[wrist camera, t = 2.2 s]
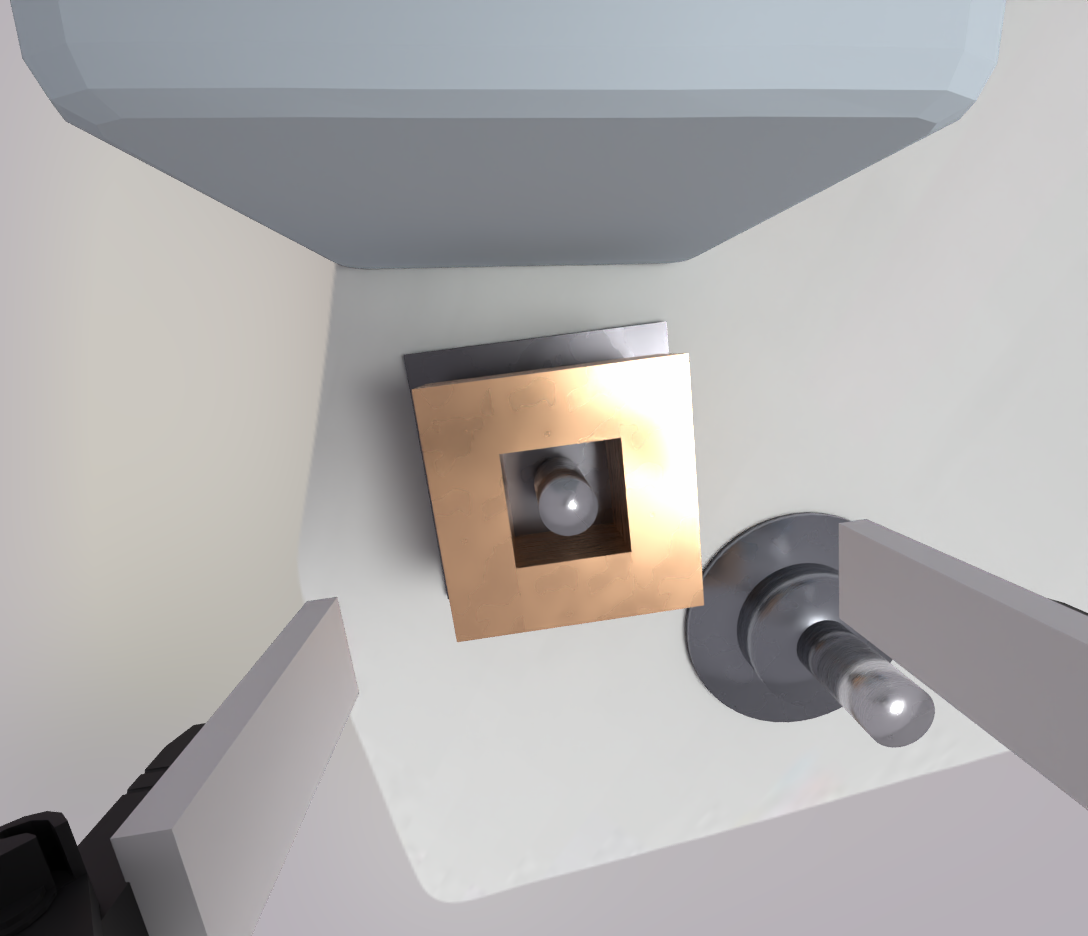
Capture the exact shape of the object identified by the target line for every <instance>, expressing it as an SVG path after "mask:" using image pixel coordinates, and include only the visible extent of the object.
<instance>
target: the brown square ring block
mask: <svg viewBox="0 0 1088 936" xmlns="http://www.w3.org/2000/svg"><path fill="white" fill-rule="evenodd" d="M412 395H413V401H414V406H415V412H416V417H417V423H418V429H419V434H420V440H421V445H422V451H423V456H424V462H425V467H426V473H427V478H428V484H429V489H430V495H431V501H432V506H433V512H434V517H435V523H436V528H437V534H438V539H439V545H440V550H441V556H442V561H443V567H444V572H445V578H446V584H447V589H448V595H449V600H450V606H451V611H452V617H453V622H454V628H455V633H456V639H457V642H461V641H468V640H475V639H482V638H488V637H495V636H502V635H508V634H515V633H522V632H529V631H535V630H542V629H549V628H555V627H562V626H569V625H575V624H582V623H589V622H596V621H602V620H609V619H616V618H622V617H629V616H636V615H643V614H649V613H656V612H663V611H669V610H676V609H683V608H690V607H696V606H703V605H704V597H703V580H702V564H701V548H700V532H699V515H698V499H697V483H696V467H695V451H694V434H693V418H692V402H691V386H690V369H689V353H681V354H653V355H645V356H637V357H630V358H622V359H614V360H607V361H599V362H591V363H583V364H576V365H568V366H560V367H553V368H545V369H537V370H530V371H522V372H514V373H506V374H499V375H491V376H483V377H476V378H468V379H460V380H453V381H445V382H437V383H429V384H425V385H423V386H420V387H417V388H414V389H412ZM600 440H605V445H606V455H607V465H608V475H609V485H610V494H611V504H612V514H613V523H606V524H599V525H592V526H590V527H589V528H588V529H587V530H585V531H584V532H582V533H580V534H577V535H573V536H563V535H559V534H556V533H554V532H552V531H549V532H542V533H535V534H528V535H521V536H515V534H514V527H513V520H512V513H511V506H510V499H509V493H508V486H507V479H506V472H505V465H504V458H503V454H504V453H512V452H519V451H526V450H534V449H541V448H549V447H556V446H563V445H571V444H578V443H585V442H593V441H600Z"/></svg>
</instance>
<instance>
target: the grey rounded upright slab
mask: <svg viewBox="0 0 1088 936" xmlns="http://www.w3.org/2000/svg"><path fill="white" fill-rule="evenodd" d="M10 2H11V7H12V12H13V16H14V20H15V25H16V30H17V35H18V40H19V44H20V49H21V53H22V58H23V60H24V61H25V63H26V64H27V66H28V67H29V69H30V70H31V72H32V74H33V75H34V77H35V78H36V80H37V81H38V83H39V84H40V86H41V87H42V89H43V90H44V92H45V94H46V95H47V97H48V98H49V100H50V101H51V102H52V104H53V105H54V106H55V108H56V109H57V110H58V112H59V113H60V114H61V116H62V117H63V118H64V120H65V121H66V122H68V123H70V124H72V125H74V126H76V127H78V128H80V129H82V130H84V131H86V132H87V133H89V134H91V135H93V136H95V137H97V138H99V139H101V140H103V141H105V142H106V143H108V144H110V145H112V146H114V147H116V148H118V149H120V150H122V151H124V152H125V153H127V154H129V155H131V156H133V157H135V158H137V159H139V160H141V161H143V162H145V163H146V164H149V165H150V166H152V167H154V168H156V169H158V170H160V171H162V172H164V173H166V174H167V175H169V176H171V177H173V178H175V179H177V180H179V181H181V182H183V183H185V184H186V185H188V186H190V187H192V188H194V189H196V190H198V191H200V192H202V193H203V194H205V195H207V196H209V197H211V198H213V199H215V200H217V201H218V202H221V203H223V204H224V205H226V206H228V207H230V208H232V209H234V210H236V211H238V212H239V213H241V214H243V215H245V216H247V217H249V218H251V219H253V220H255V221H257V222H258V223H260V224H262V225H264V226H266V227H268V228H270V229H272V230H274V231H276V232H278V233H280V234H281V235H283V236H285V237H287V238H289V239H291V240H293V241H295V242H297V243H299V244H300V245H302V246H304V247H306V248H308V249H310V250H312V251H314V252H316V253H318V254H319V255H321V256H323V257H325V258H327V259H329V260H331V261H333V262H335V263H338V264H340V265H343V266H346V267H351V268H368V269H369V268H432V267H479V266H534V265H596V264H647V263H673V262H682V261H686V260H689V259H691V258H694V257H696V256H698V255H700V254H702V253H704V252H706V251H707V250H709V249H711V248H713V247H715V246H717V245H719V244H721V243H723V242H725V241H727V240H729V239H730V238H732V237H734V236H736V235H738V234H740V233H742V232H744V231H746V230H748V229H750V228H752V227H754V226H756V225H758V224H759V223H761V222H763V221H765V220H767V219H769V218H771V217H773V216H775V215H777V214H779V213H781V212H783V211H784V210H786V209H788V208H790V207H792V206H794V205H796V204H798V203H800V202H802V201H804V200H806V199H808V198H809V197H811V196H813V195H815V194H817V193H819V192H821V191H823V190H825V189H827V188H829V187H830V186H832V185H834V184H836V183H838V182H840V181H842V180H844V179H846V178H848V177H850V176H851V175H853V174H855V173H857V172H859V171H861V170H863V169H865V168H867V167H869V166H871V165H873V164H875V163H876V162H878V161H880V160H882V159H884V158H886V157H888V156H890V155H892V154H894V153H896V152H898V151H900V150H902V149H903V148H905V147H907V146H909V145H911V144H913V143H915V142H917V141H919V140H921V139H923V138H925V137H927V136H929V135H931V134H932V133H934V132H936V131H938V130H940V129H942V128H944V127H946V126H948V125H950V124H952V123H954V122H956V121H958V120H959V119H960V118H961V117H962V116H963V115H964V114H965V113H966V111H967V110H968V109H969V108H970V107H971V106H972V105H973V104H974V102H975V101H976V100H977V98H978V96H979V95H980V93H981V91H982V89H983V88H984V86H985V84H986V82H987V81H988V79H989V77H990V75H991V73H992V72H993V70H994V68H995V66H996V65H997V62H998V55H999V48H1000V40H1001V33H1002V26H1003V19H1004V12H1005V5H1006V0H10Z"/></svg>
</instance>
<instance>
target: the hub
mask: <svg viewBox="0 0 1088 936" xmlns="http://www.w3.org/2000/svg"><path fill="white" fill-rule="evenodd" d="M843 522H850V520H847V519H844V518H841V517H838V516H834V515H828V514H823V513H798V514H790V515H786V516H781V517H777V518H774V519H771V520H768V521H765V522H763V523H761V524H759V525H756V526H754V527H752V528H750V529H749V530H747V531H745V532H744V533H742V534H741V535H739V536H737V537H736V538H735V539H734V540H732V541H731V542H730V543H729V544H727V545H726V546H725V547H724V548H723V549H722V550H721V551H720V552H719V553H718V554H717V555H716V556H715V557H714V559H713V560H712V561H711V562H710V564H709V565H708V566H707V568H706V569H705V571H704V572H703V574H702V580H703V597H704V605H703V606H696V607H690V608H688V614H687V621H686V638H687V645H688V650H689V654H690V657H691V660H692V663H693V665H694V667H695V669H696V671H697V673H698V675H699V677H700V678H701V680H702V681H703V683H704V684H705V686H706V687H707V688H708V689H709V690H710V692H711V693H712V694H713V695H714V696H715V697H716V698H717V699H719V700H720V701H721V702H722V703H723V704H725V705H726V706H728V707H729V708H731V709H733V710H735V711H736V712H739V713H741V714H743V715H746V716H748V717H752V718H755V719H759V720H764V721H771V722H794V721H802V720H807V719H812V718H816V717H819V716H822V715H825V714H828V713H830V712H832V711H834V710H837V709H839V708H841V707H844V708H845V710H846V711H847V712H848V713H849V714H850V715H851V716H852V717H853V718H854V719H855V720H856V721H857V722H858V723H859V724H860V725H861V726H862V727H863V729H864V730H865V731H866V732H867V733H868V734H869V735H870V736H871V737H872V738H873V739H874V740H875V741H876V742H878V743H879V744H881V745H883V746H887V747H902V746H906V745H909V744H911V743H913V742H915V741H917V740H918V739H919V738H921V737H922V736H923V735H924V734H925V733H926V732H927V730H928V729H929V728H930V726H931V724H932V722H933V719H934V714H935V707H934V703H933V700H932V699H931V697H930V696H929V695H928V694H927V693H926V692H925V691H924V690H923V689H921V688H920V687H919V686H918V685H916V684H915V683H914V682H913V681H912V680H910V679H909V678H908V677H907V676H905V675H904V674H903V673H902V672H900V671H899V670H898V669H897V668H895V667H894V666H893V665H892V664H891V663H890V662H891V661H892V659H891V658H890V657H889V656H888V655H886V654H885V653H884V652H882V651H881V650H880V649H878V648H877V647H876V646H875V645H873V644H872V643H871V642H869V641H868V640H867V639H866V638H864V637H863V636H862V635H860V634H859V633H858V632H856V631H855V630H854V629H853V628H851V627H850V626H849V625H847V624H846V623H845V622H844V621H842V620H841V619H840V618H839V523H843Z"/></svg>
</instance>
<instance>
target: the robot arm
mask: <svg viewBox="0 0 1088 936" xmlns="http://www.w3.org/2000/svg"><path fill="white" fill-rule="evenodd" d="M839 618H840V619H841V620H842V621H844V622H845V623H846V624H847V625H849V626H850V627H851V628H853V629H854V630H855V631H856V632H858V633H859V634H860V635H862V636H863V637H864V638H866V639H867V640H868V641H869V642H871V643H872V644H873V645H875V646H876V647H877V648H878V649H880V650H881V651H882V652H884V653H885V654H886V655H888V656H889V657H890V658H891V659H893V660H894V661H895V662H897V663H898V664H899V665H900V666H902V667H903V668H904V669H906V670H907V671H908V672H910V673H911V674H912V675H913V676H915V677H916V678H917V679H919V680H920V681H921V682H923V683H924V684H925V685H926V686H928V687H929V688H930V689H932V690H933V691H934V692H935V693H937V694H938V695H939V696H941V697H942V698H943V699H945V700H946V701H947V702H948V703H950V704H951V705H952V706H954V707H955V708H956V709H957V710H959V711H960V712H961V713H963V714H964V715H965V716H967V717H968V718H969V719H970V720H972V721H973V722H974V723H976V724H977V725H978V726H979V727H981V728H982V729H983V730H985V731H986V732H987V733H989V734H990V735H991V736H992V737H994V738H995V739H996V740H998V741H999V742H1000V743H1002V744H1003V745H1004V746H1005V747H1007V748H1008V749H1009V750H1011V751H1012V752H1013V753H1014V754H1016V755H1017V756H1018V757H1020V758H1021V759H1022V760H1024V761H1025V762H1026V763H1027V764H1029V765H1030V766H1031V767H1033V768H1034V769H1035V770H1036V771H1038V772H1039V773H1040V774H1042V775H1043V776H1044V777H1046V778H1047V779H1048V780H1049V781H1051V782H1052V783H1054V784H1055V785H1056V786H1057V787H1058V788H1060V789H1061V790H1062V791H1064V792H1065V793H1066V794H1068V795H1069V796H1070V797H1071V798H1073V799H1074V800H1075V801H1077V802H1078V803H1079V804H1081V805H1082V806H1083V807H1084V808H1086V809H1087V810H1088V613H1086V612H1084V611H1082V610H1079V609H1077V608H1075V607H1072V606H1070V605H1068V604H1065V603H1063V602H1059V601H1055V600H1052V599H1048V598H1045V597H1043V596H1041V595H1039V594H1036V593H1034V592H1032V591H1029V590H1027V589H1025V588H1023V587H1020V586H1018V585H1016V584H1013V583H1011V582H1009V581H1007V580H1004V579H1002V578H1000V577H998V576H995V575H993V574H991V573H988V572H986V571H984V570H982V569H979V568H977V567H975V566H972V565H970V564H968V563H966V562H963V561H961V560H959V559H957V558H954V557H952V556H950V555H947V554H945V553H943V552H941V551H938V550H936V549H934V548H931V547H929V546H927V545H925V544H922V543H920V542H918V541H915V540H913V539H911V538H909V537H906V536H904V535H902V534H900V533H897V532H895V531H893V530H890V529H888V528H886V527H884V526H881V525H879V524H877V523H874V522H872V521H870V520H868V519H864V520H857V521H850V522H843V523H839ZM358 694H359V690H358V686H357V681H356V677H355V672H354V668H353V664H352V659H351V655H350V650H349V646H348V642H347V637H346V633H345V628H344V624H343V620H342V615H341V611H340V606H339V602H338V598H337V597H334V598H327V599H320V600H313V601H307V602H306V603H305V604H304V605H303V607H302V608H301V609H300V610H299V611H298V613H297V614H296V615H295V616H294V617H293V619H292V620H291V621H290V622H289V623H288V625H287V626H286V627H285V628H284V630H283V631H282V632H281V633H280V634H279V636H278V637H277V638H276V639H275V640H274V642H273V643H272V644H271V645H270V646H269V648H268V649H267V650H266V651H265V653H264V654H263V655H262V656H261V658H260V659H259V660H258V661H257V662H256V663H255V665H254V666H253V667H252V668H251V670H250V671H249V672H248V673H247V674H246V675H245V677H244V678H243V679H242V680H241V681H240V683H239V684H238V685H237V686H236V687H235V689H234V690H233V691H232V692H231V694H230V695H229V696H228V697H227V698H226V700H225V701H224V702H223V703H222V704H221V706H220V707H219V708H218V709H217V711H216V712H215V713H214V714H213V715H212V717H211V718H210V719H209V720H208V721H207V723H204V724H198V725H193V726H192V727H191V728H190V729H188V730H187V731H185V732H184V733H183V734H181V735H180V736H179V737H177V738H176V739H175V740H173V741H172V742H171V743H169V744H168V745H167V746H166V747H165V748H164V749H163V750H162V751H161V752H160V753H159V755H158V756H157V757H156V758H155V759H154V760H153V761H152V762H151V764H150V765H149V766H148V767H147V768H146V769H145V774H141V775H140V776H139V777H138V778H137V779H136V781H135V782H134V783H133V784H132V785H131V786H130V787H129V789H128V790H127V794H126V795H122V796H121V797H120V799H119V800H118V801H117V802H116V803H115V804H114V805H113V807H112V808H111V809H110V810H109V811H108V812H107V813H106V815H105V816H104V817H103V818H102V819H101V820H100V821H99V822H98V824H97V825H96V826H95V827H94V828H93V829H92V830H91V832H90V833H89V834H88V835H87V836H86V837H85V838H84V839H83V841H82V842H81V843H80V844H79V845H78V846H77V844H76V842H75V839H74V836H73V834H72V831H71V829H70V826H69V824H68V821H67V819H66V818H65V817H64V815H63V814H62V813H59V812H50V811H46V812H42V813H37V814H33V815H29V816H24V817H22V818H20V819H17V820H15V821H12V822H10V823H8V824H5V825H3V826H1V827H0V936H252V934H253V932H254V930H255V927H256V925H257V923H258V921H259V918H260V916H261V914H262V911H263V909H264V907H265V905H266V903H267V900H268V898H269V896H270V893H271V891H272V889H273V887H274V884H275V882H276V880H277V878H278V875H279V873H280V871H281V869H282V866H283V864H284V862H285V860H286V857H287V855H288V853H289V851H290V848H291V846H292V844H293V841H294V839H295V837H296V835H297V832H298V830H299V828H300V826H301V823H302V821H303V819H304V816H305V814H306V812H307V810H308V808H309V805H310V803H311V800H312V798H313V796H314V794H315V791H316V789H317V787H318V785H319V783H320V780H321V778H322V776H323V773H324V771H325V769H326V767H327V764H328V762H329V760H330V758H331V755H332V753H333V751H334V749H335V746H336V744H337V742H338V739H339V737H340V735H341V733H342V730H343V728H344V726H345V724H346V722H347V719H348V717H349V715H350V713H351V710H352V708H353V706H354V703H355V701H356V699H357V697H358Z"/></svg>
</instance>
